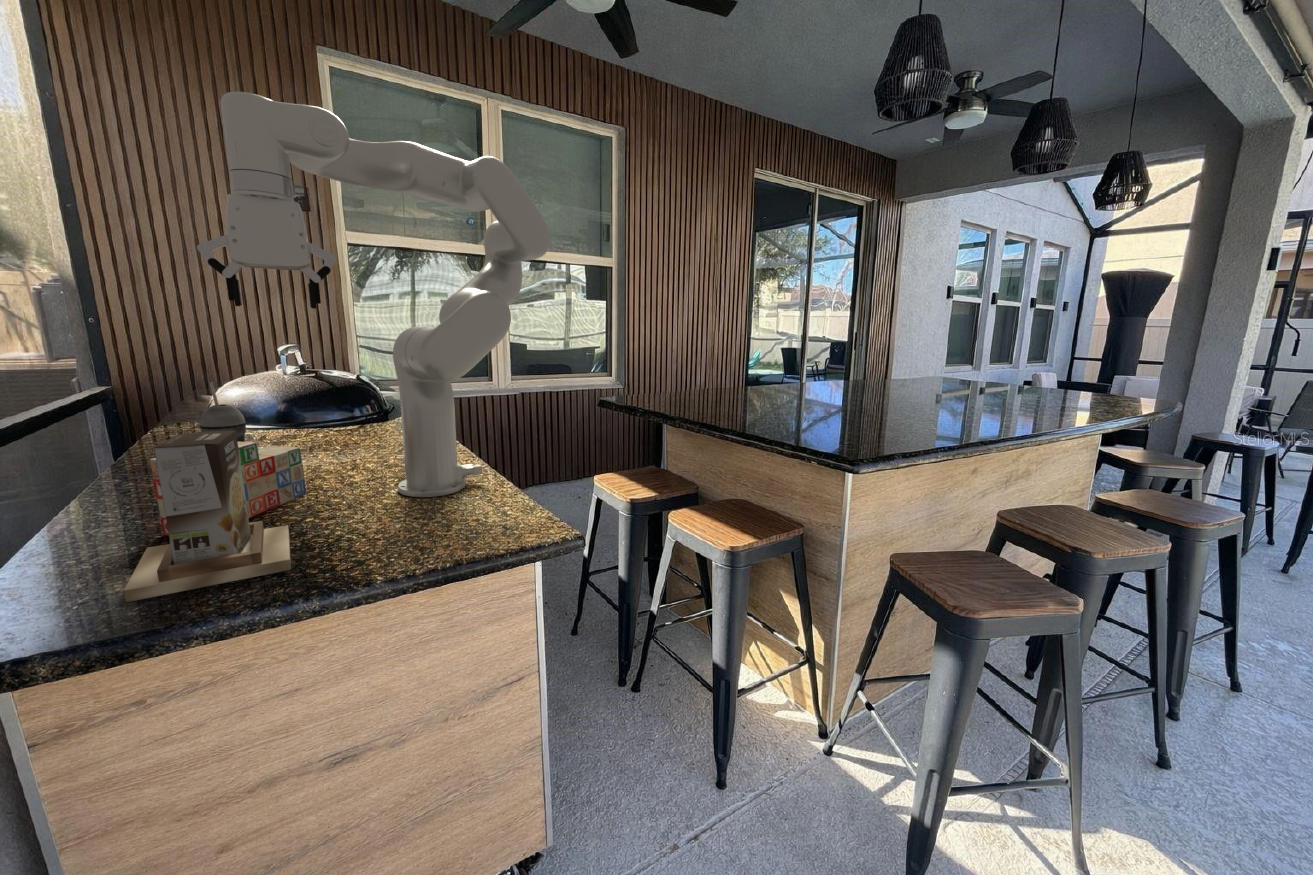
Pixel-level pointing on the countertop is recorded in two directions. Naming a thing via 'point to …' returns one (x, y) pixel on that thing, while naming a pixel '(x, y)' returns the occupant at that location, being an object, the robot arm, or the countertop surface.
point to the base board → (210, 565)
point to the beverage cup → (223, 418)
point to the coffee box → (203, 495)
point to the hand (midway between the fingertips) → (277, 307)
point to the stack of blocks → (258, 478)
